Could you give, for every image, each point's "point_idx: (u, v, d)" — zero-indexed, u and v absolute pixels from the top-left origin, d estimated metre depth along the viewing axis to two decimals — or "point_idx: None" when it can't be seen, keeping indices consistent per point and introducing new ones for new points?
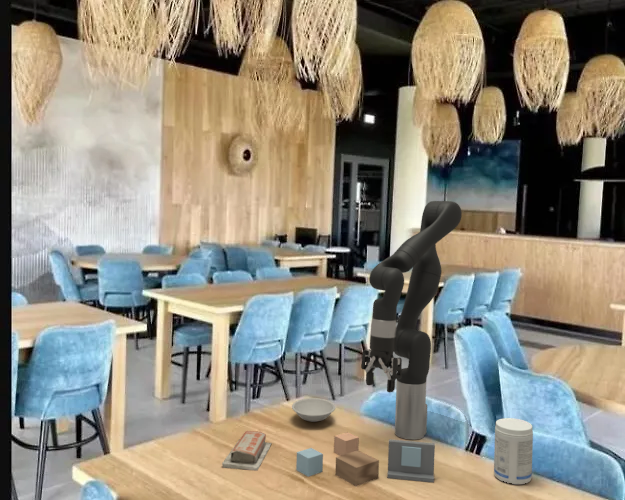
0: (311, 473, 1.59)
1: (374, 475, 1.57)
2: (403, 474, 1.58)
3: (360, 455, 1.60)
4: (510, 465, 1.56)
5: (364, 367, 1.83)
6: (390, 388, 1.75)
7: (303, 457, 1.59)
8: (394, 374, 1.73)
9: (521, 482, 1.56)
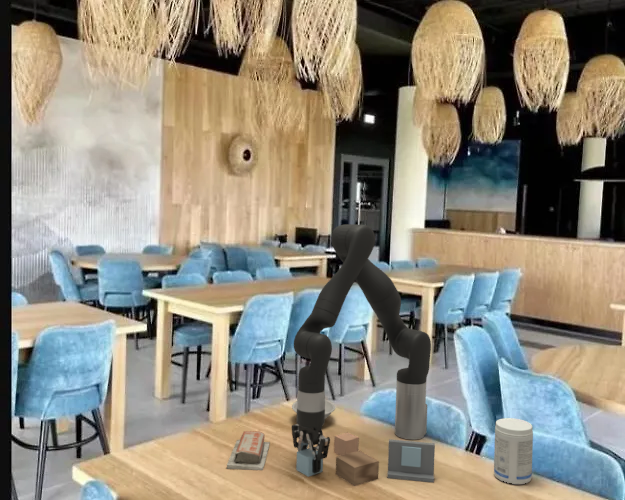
0: (311, 472, 1.59)
1: (374, 475, 1.57)
2: (403, 474, 1.58)
3: (361, 455, 1.60)
4: (510, 465, 1.56)
5: (296, 445, 1.64)
6: (315, 469, 1.58)
7: (303, 457, 1.59)
8: (318, 454, 1.56)
9: (521, 482, 1.56)
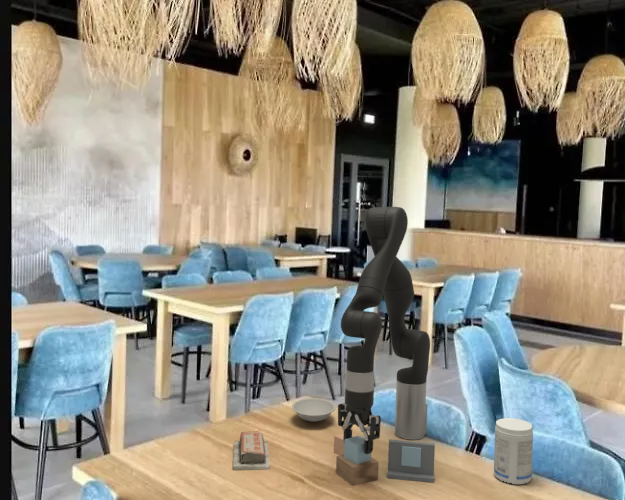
0: (360, 460, 1.56)
1: (373, 476, 1.56)
2: (403, 474, 1.58)
3: None
4: (510, 465, 1.56)
5: (341, 424, 1.62)
6: (368, 450, 1.54)
7: (352, 444, 1.56)
8: (371, 434, 1.52)
9: (521, 482, 1.56)
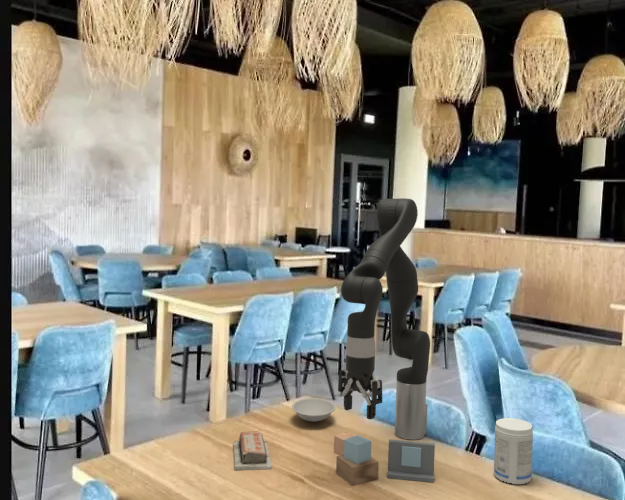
0: (360, 460, 1.56)
1: (373, 476, 1.56)
2: (403, 474, 1.58)
3: None
4: (510, 465, 1.56)
5: (341, 390, 1.61)
6: (370, 415, 1.53)
7: (352, 444, 1.56)
8: (373, 399, 1.51)
9: (521, 482, 1.56)
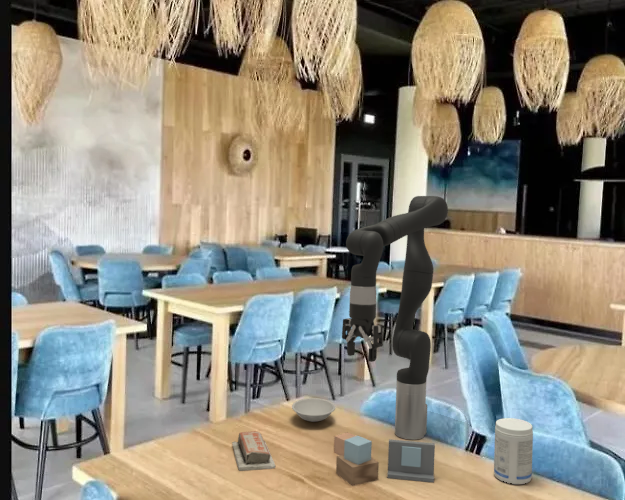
0: (361, 460, 1.55)
1: (373, 476, 1.56)
2: (403, 474, 1.58)
3: None
4: (510, 465, 1.56)
5: (345, 337, 1.75)
6: (371, 357, 1.67)
7: (352, 445, 1.56)
8: (375, 342, 1.65)
9: (521, 482, 1.56)
